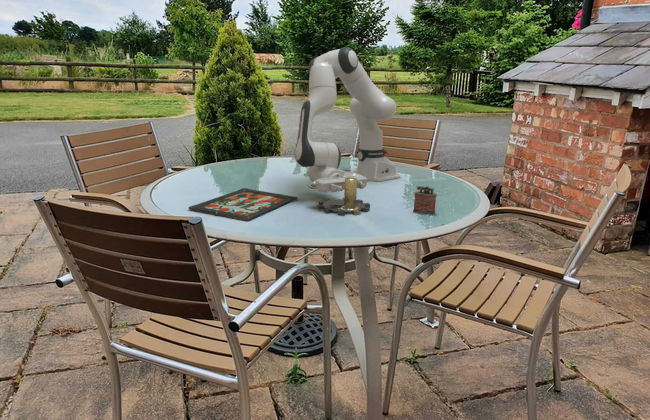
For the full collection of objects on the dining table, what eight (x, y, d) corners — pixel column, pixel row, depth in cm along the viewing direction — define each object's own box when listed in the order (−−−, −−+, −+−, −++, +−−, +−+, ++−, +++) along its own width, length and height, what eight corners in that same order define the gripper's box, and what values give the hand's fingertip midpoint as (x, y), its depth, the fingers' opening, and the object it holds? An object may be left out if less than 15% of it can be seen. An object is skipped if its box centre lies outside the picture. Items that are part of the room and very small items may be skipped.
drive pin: (351, 205, 183) (352, 176, 179) (358, 208, 179) (359, 179, 176) (341, 206, 181) (342, 177, 177) (347, 209, 177) (348, 180, 174)
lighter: (435, 212, 180) (437, 186, 177) (434, 214, 177) (436, 188, 174) (413, 210, 183) (415, 184, 180) (412, 212, 179) (414, 186, 177)
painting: (299, 202, 196) (299, 196, 195) (249, 225, 166) (249, 218, 165) (242, 191, 207) (242, 186, 206) (186, 212, 177) (185, 205, 176)
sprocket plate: (352, 198, 197) (352, 195, 196) (380, 211, 180) (380, 208, 180) (308, 204, 188) (308, 201, 187) (333, 218, 171) (334, 214, 171)
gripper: (309, 174, 183) (327, 182, 171) (355, 170, 192) (375, 176, 181) (309, 190, 185) (326, 199, 173) (355, 185, 194) (374, 193, 182)
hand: (351, 187), depth 177 cm, fingers open, 8 cm apart
